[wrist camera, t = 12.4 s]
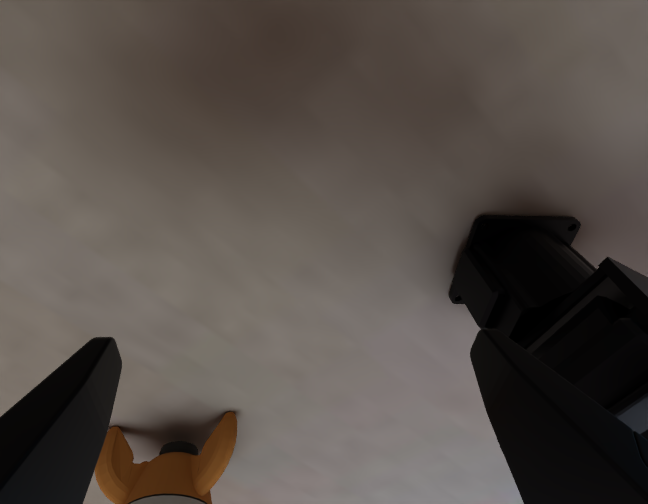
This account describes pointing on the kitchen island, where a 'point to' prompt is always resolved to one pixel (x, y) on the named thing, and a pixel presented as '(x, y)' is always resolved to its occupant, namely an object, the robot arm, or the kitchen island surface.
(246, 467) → the kitchen island surface
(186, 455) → the toy rocket
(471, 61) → the kitchen island surface
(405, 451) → the kitchen island surface
